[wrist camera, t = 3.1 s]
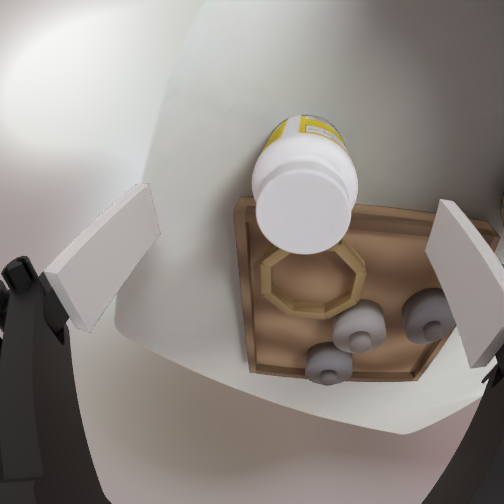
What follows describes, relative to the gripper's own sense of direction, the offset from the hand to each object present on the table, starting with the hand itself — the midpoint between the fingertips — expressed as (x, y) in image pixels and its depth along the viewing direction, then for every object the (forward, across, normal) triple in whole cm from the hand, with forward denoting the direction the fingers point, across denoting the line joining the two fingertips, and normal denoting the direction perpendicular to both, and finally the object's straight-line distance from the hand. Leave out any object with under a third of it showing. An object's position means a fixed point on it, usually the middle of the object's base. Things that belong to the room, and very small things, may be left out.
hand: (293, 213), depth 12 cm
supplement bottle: (+10, 0, 0) cm, 10 cm away
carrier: (+9, +6, -15) cm, 19 cm away
